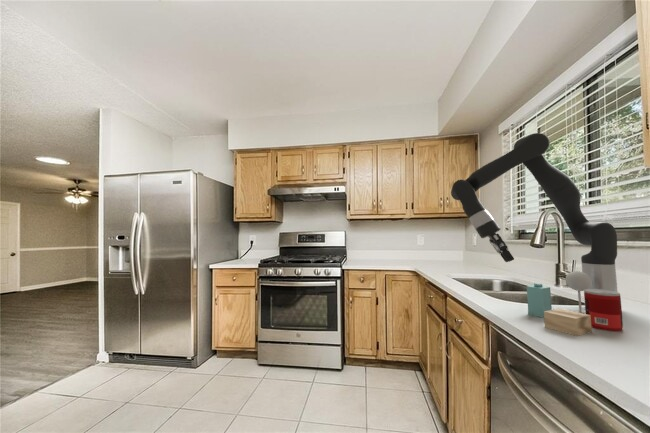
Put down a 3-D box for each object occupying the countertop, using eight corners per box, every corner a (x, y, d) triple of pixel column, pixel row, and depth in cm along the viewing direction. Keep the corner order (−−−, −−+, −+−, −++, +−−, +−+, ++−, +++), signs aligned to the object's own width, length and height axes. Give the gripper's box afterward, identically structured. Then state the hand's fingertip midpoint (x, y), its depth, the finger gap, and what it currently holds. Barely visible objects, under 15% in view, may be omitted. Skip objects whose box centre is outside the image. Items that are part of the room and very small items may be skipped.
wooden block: (559, 324, 87) (558, 308, 88) (591, 332, 80) (590, 315, 80) (545, 327, 84) (543, 311, 85) (576, 336, 77) (575, 318, 77)
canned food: (631, 332, 79) (627, 294, 80) (598, 330, 81) (595, 293, 81) (609, 323, 87) (606, 289, 87) (580, 322, 88) (577, 288, 89)
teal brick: (536, 312, 100) (534, 282, 101) (552, 315, 96) (550, 284, 96) (528, 313, 98) (526, 283, 99) (544, 317, 94) (542, 285, 94)
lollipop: (575, 309, 103) (572, 269, 104) (599, 314, 97) (595, 271, 98) (563, 310, 101) (560, 270, 102) (586, 316, 94) (583, 273, 95)
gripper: (495, 216, 99) (523, 255, 93) (492, 221, 112) (517, 257, 106) (475, 226, 102) (501, 265, 96) (474, 230, 114) (498, 265, 108)
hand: (510, 261), depth 101 cm, fingers open, 8 cm apart
